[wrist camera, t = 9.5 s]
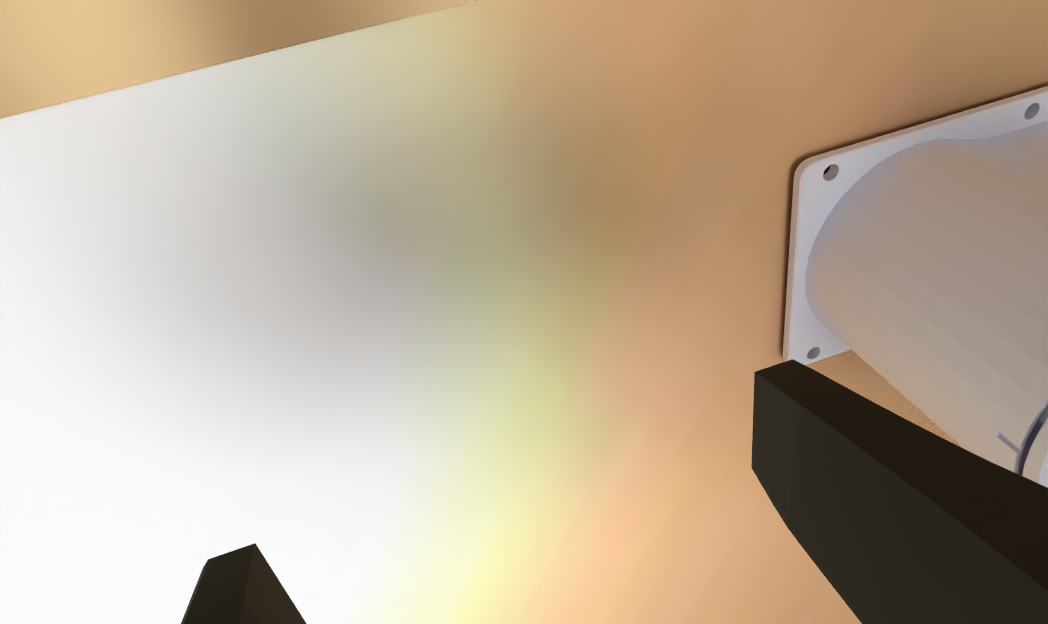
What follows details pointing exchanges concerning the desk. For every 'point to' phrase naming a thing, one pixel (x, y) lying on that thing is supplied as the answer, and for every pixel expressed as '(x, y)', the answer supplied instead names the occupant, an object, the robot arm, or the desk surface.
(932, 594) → the robot arm
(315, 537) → the desk surface
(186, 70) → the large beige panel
